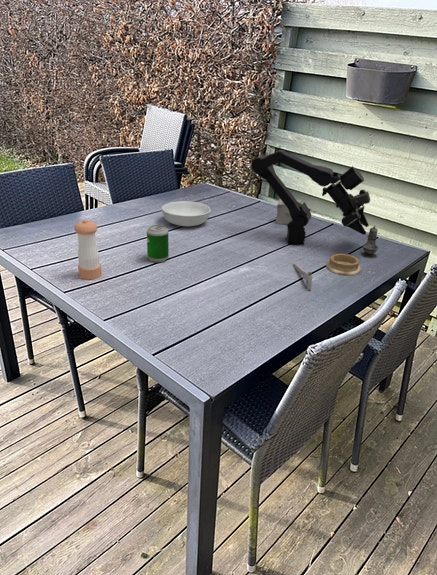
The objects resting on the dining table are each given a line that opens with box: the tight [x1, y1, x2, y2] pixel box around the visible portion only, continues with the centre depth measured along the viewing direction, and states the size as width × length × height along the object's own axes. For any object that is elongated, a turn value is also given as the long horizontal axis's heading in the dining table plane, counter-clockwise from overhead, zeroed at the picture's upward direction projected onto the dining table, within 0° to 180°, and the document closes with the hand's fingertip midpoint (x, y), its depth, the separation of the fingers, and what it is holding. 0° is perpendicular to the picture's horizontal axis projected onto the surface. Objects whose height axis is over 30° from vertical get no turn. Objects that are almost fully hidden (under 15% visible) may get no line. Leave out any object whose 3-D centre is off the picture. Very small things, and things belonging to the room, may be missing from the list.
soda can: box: [146, 224, 170, 263], centre depth 169 cm, size 8×8×12 cm
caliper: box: [292, 262, 313, 291], centre depth 161 cm, size 20×1×6 cm, turn 5°
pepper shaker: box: [74, 218, 102, 280], centre depth 153 cm, size 7×7×19 cm
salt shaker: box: [361, 225, 379, 259], centre depth 180 cm, size 6×6×12 cm
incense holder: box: [275, 198, 302, 225], centre depth 210 cm, size 10×8×10 cm
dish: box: [325, 253, 362, 277], centre depth 170 cm, size 12×12×4 cm
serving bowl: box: [161, 200, 212, 227], centre depth 205 cm, size 21×21×7 cm
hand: (366, 230), depth 179 cm, fingers open, 9 cm apart
